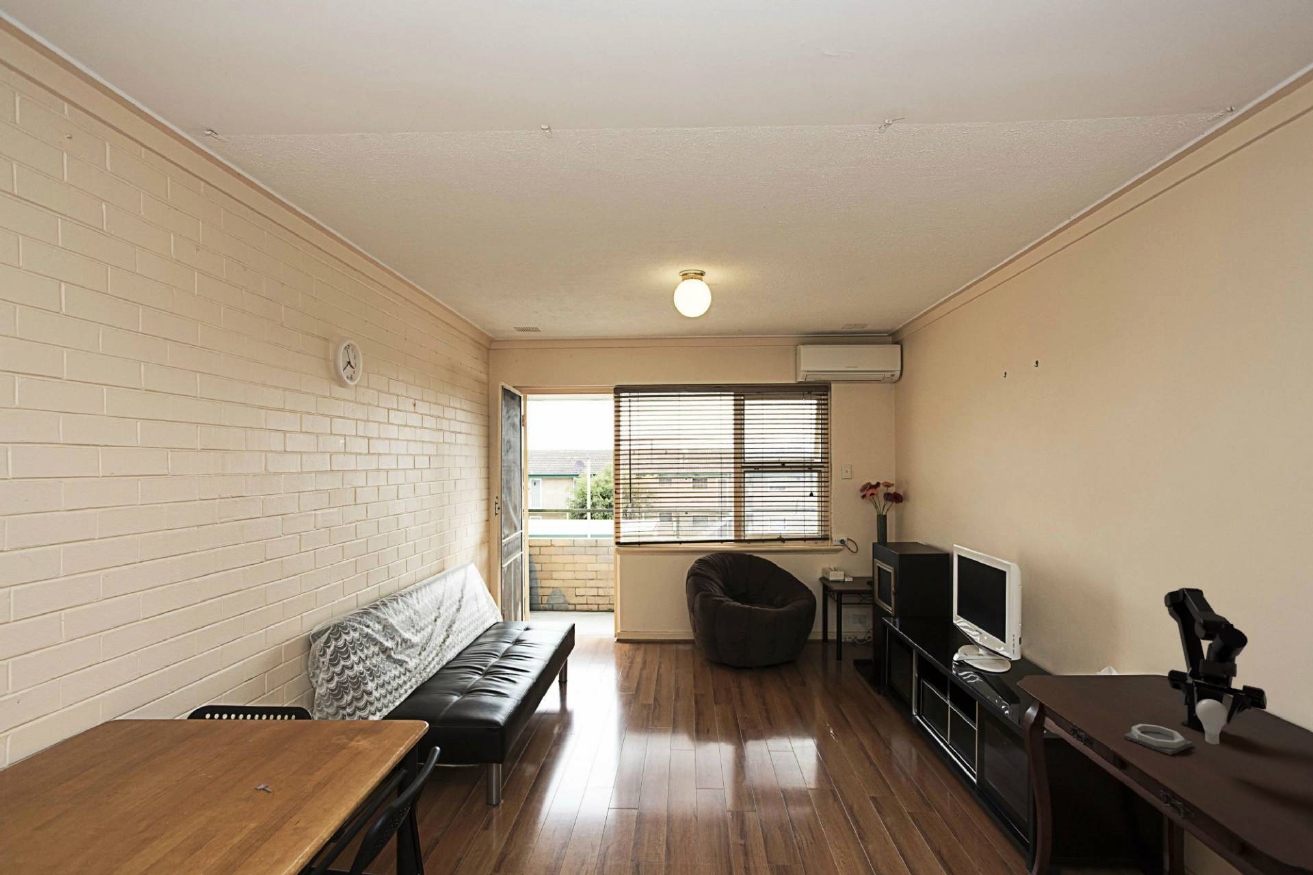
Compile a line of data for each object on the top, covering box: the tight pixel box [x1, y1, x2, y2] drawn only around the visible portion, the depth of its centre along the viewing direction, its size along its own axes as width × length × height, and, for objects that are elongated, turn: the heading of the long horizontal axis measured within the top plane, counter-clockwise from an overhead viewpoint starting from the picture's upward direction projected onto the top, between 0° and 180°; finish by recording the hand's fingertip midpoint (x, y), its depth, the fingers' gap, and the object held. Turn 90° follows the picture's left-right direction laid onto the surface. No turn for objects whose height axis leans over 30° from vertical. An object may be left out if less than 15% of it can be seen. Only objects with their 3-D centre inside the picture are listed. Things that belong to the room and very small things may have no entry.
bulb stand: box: [1123, 723, 1193, 756], centre depth 177 cm, size 11×11×2 cm
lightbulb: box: [1195, 699, 1229, 746], centre depth 164 cm, size 6×6×11 cm
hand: (1210, 719), depth 163 cm, fingers closed on lightbulb, 6 cm apart
